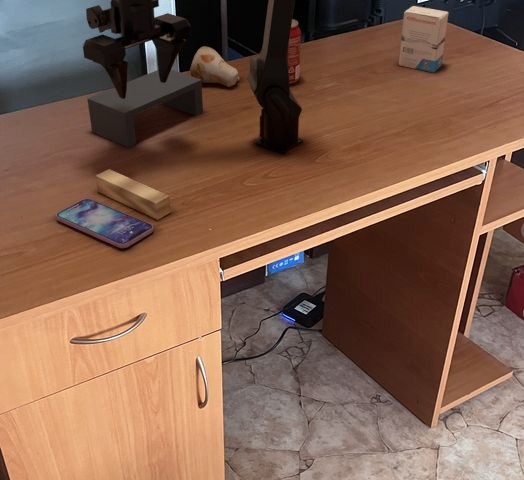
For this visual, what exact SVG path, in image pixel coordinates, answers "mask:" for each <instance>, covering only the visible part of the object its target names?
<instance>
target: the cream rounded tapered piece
mask: <svg viewBox="0 0 524 480" xmlns="http://www.w3.org/2000/svg"><path fill="white" fill-rule="evenodd" d="M189 73H190V76H192V77H195V78H198V79H201V80H202V83H206V84H220V85H223V86H225V87H228V88H231V87H234V85H236V84H237V82H239V81H240V77H239V72H238V70H237V68H235V67H234V66H232V65H229V64H228V63H227V62H226V61H225V60H224V59H223V57H222V56H221V55H220V54H219V53H218V52H217V51H216V50H215V49H214V48H212V47H209V46H201V47H200V48H198V50H197V51H196V52H195V54H194V55H193V59H192V62H191V65H190V69H189Z"/></svg>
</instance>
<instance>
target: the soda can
mask: <svg viewBox="0 0 524 480" xmlns="http://www.w3.org/2000/svg"><path fill="white" fill-rule="evenodd" d="M301 41H302V31H301V29H300V27H299V22H298V20H297V19H294V18H292V25H291V32H290V38H289V45H288V52H287V62H288V70H289V84H290V85H292V84H294V83H296V82H298V81H299V79H300V71H301V68H300V67H301V47H302V45H301V43H302V42H301Z"/></svg>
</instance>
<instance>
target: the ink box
mask: <svg viewBox="0 0 524 480" xmlns="http://www.w3.org/2000/svg"><path fill="white" fill-rule="evenodd" d="M448 19H449V11H445V10H440V9H433V8H429V7H423V6H416V5H412V6H410V7H409V8H408V9H406V10H405V11H404V12H403V18H402V27H401V28H402V29H401V37H400V38H401V39H400V48H399V56H398V57H399V58H398V65H399V66H400V67H405V68H409V69H415V70H418V71H424V72H428V73H435V72H437V70H439V69H440V68H441V67H442V64H443V57H444V49H445V42H446V36H447V27H448Z"/></svg>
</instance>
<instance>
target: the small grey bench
mask: <svg viewBox="0 0 524 480" xmlns="http://www.w3.org/2000/svg"><path fill="white" fill-rule="evenodd" d="M202 85H203V82H202V80H201V79H198V78H195V77H192V76H191V75H188V74H185V73H183V72H180V71H178V70H173V69H171V71H170V73H169V76H168V78H167V81H166V83H162V82H160V78H159V73H158V69H157V70H154V71H152V72H149V73H147V74H143V75H142V76H139V77H136V78H135V79H131V80H130V81H127V92H126V98H125V99H122V98H120V97H119V95H118V93H117V91H116V89H115V87H114V86H113V87H112V88H110V89H107V90H104V91H101V92H99V93H97V94H94V95H92V96H90V97H87V99H86V100H87V106H88V107H87V108H88V113H89V120H90V127H91V133H93V134H94V135H95V134H96V135H99V136H100V137H102V138H105V139H107V140H110V141H111V142H115V143H117V144H119V145H122V146H124V147H126V148H130V147H133V146H136V145H137V137H136V127H135V118H134V117H135V116H136V115H139V114H141V113H143V112H145V111H146V112H147V111H148V110H150V109H153V108H155V107H157V106H160V105H162V104H164V105H166V106H169V107H172V108H174V109H177V110H180V111H183V112H185V113H188V114H190V115H193V116H199V115H201V114H203V113H204V102H203V86H202Z"/></svg>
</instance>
